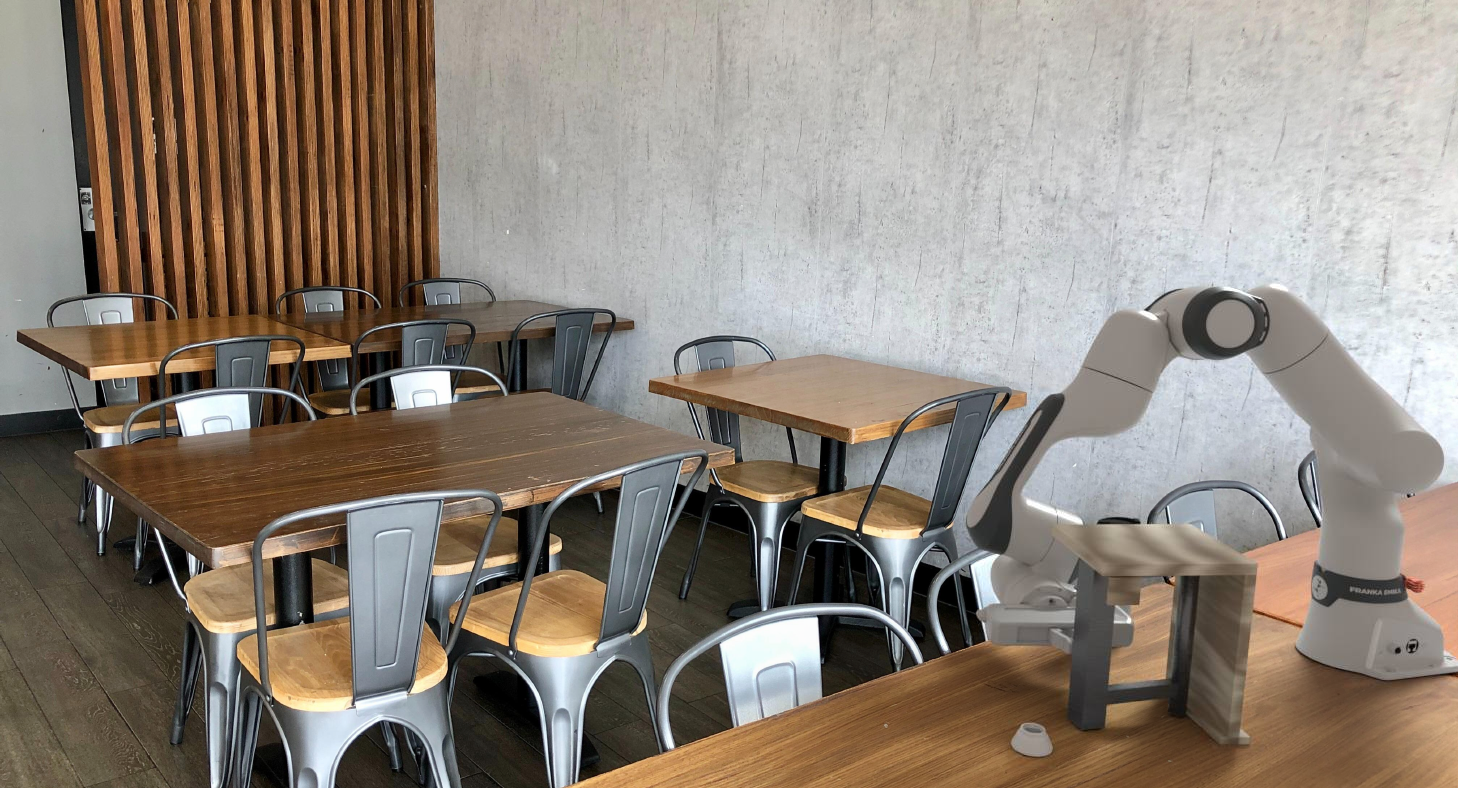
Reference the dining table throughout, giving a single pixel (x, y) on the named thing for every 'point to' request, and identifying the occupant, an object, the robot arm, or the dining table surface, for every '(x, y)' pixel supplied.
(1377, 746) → the dining table surface
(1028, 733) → the white jar
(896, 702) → the dining table surface
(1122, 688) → the frame
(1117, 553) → the side table
